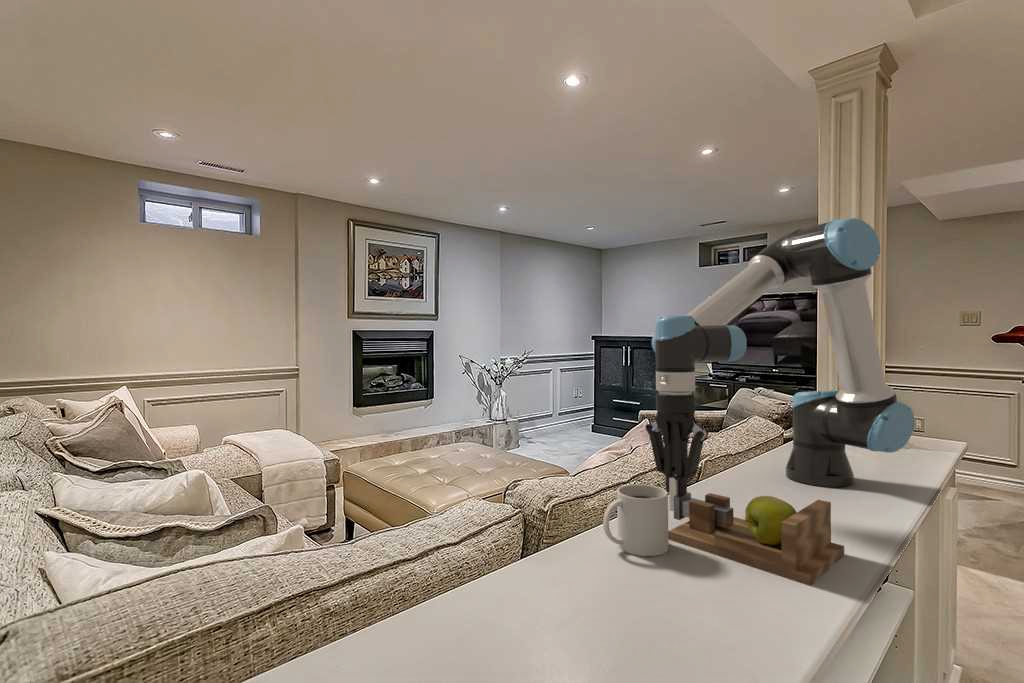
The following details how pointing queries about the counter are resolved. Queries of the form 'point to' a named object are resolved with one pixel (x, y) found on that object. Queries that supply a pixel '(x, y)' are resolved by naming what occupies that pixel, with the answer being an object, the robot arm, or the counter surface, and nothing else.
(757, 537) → the apple
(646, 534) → the mug
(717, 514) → the shaft
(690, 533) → the cradle
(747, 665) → the counter surface
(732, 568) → the counter surface
